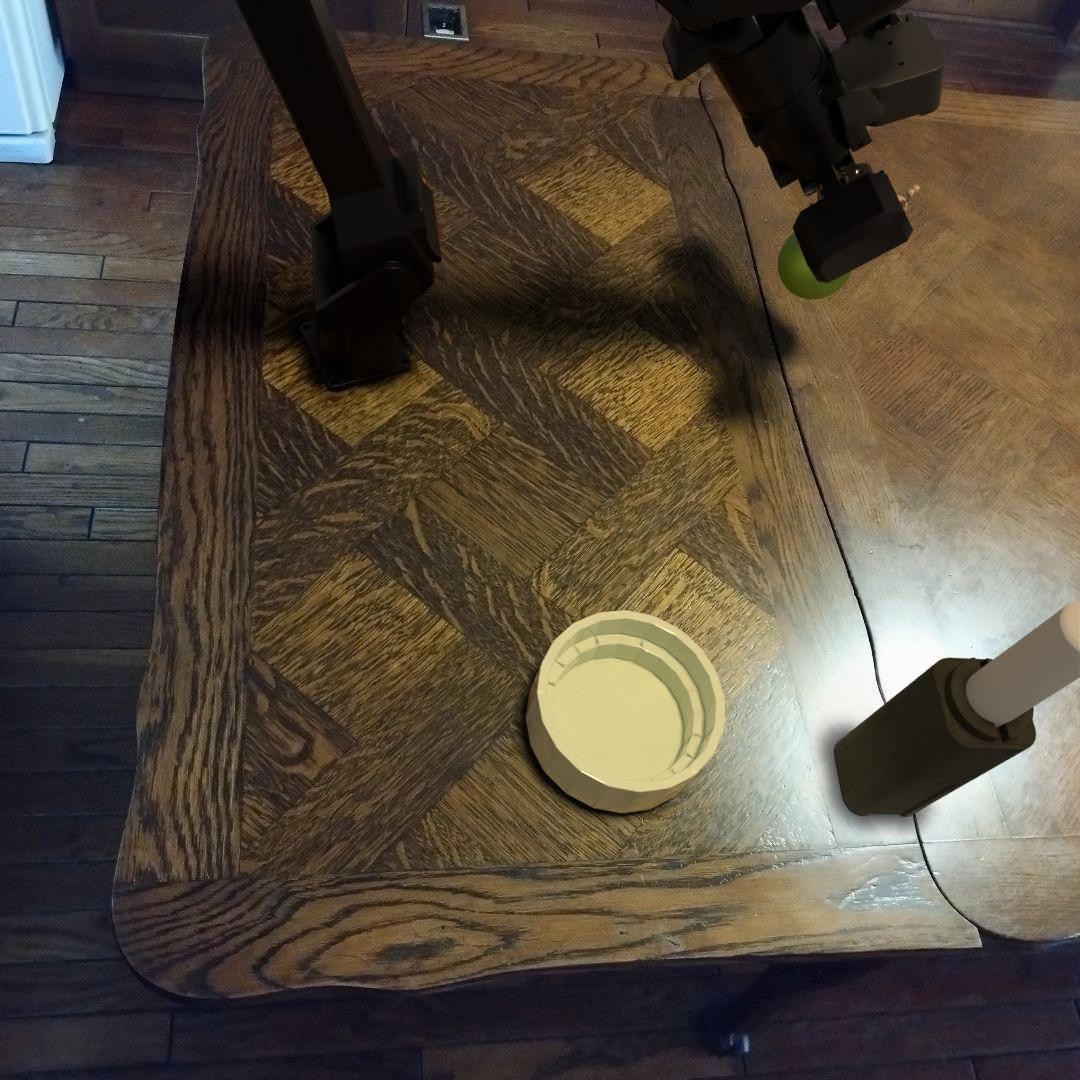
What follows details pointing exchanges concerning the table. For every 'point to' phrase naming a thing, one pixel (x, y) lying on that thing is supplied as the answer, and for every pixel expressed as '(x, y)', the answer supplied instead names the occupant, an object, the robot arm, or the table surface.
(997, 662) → the candle
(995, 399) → the table surface
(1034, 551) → the table surface
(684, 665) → the bowl
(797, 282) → the snail figurine
